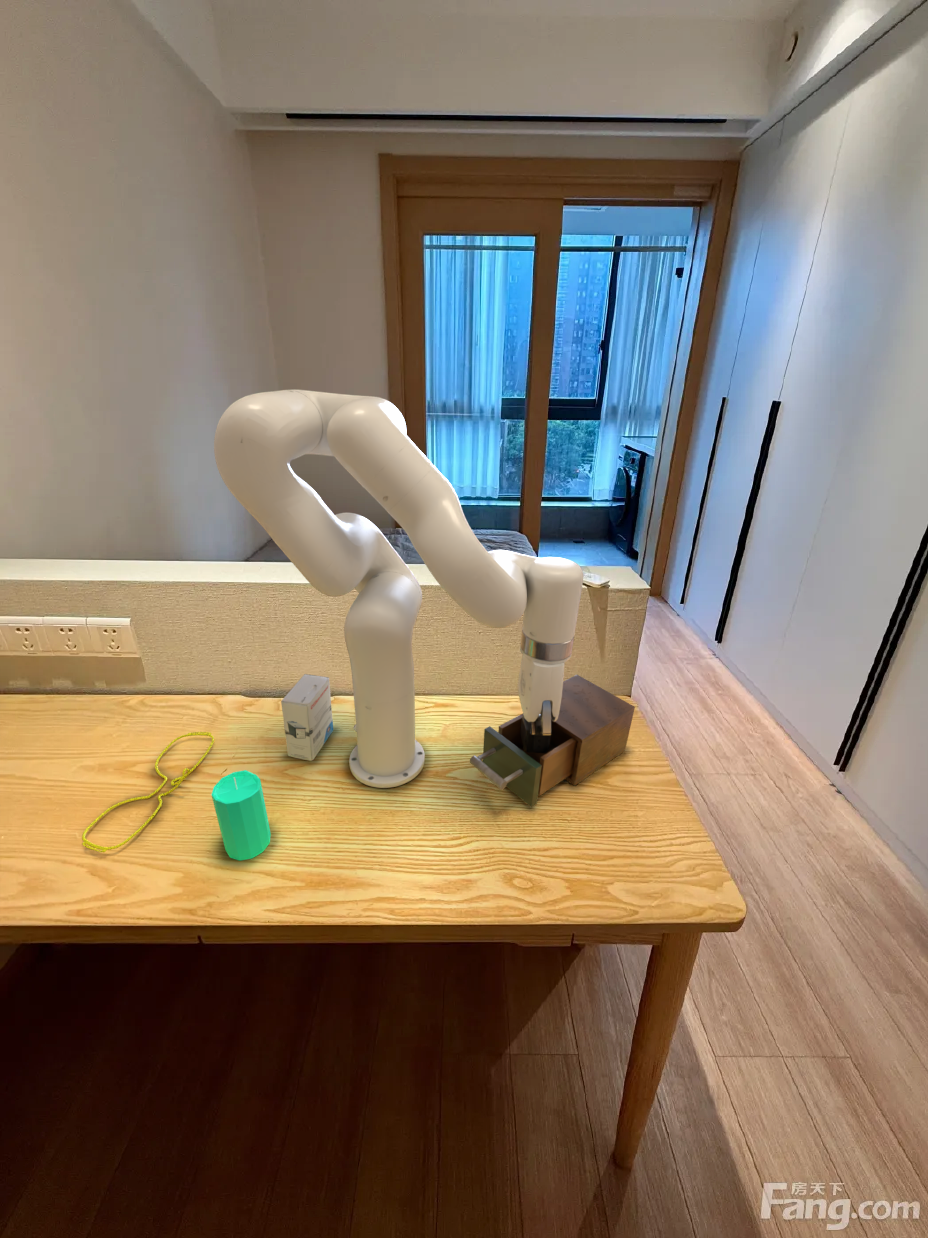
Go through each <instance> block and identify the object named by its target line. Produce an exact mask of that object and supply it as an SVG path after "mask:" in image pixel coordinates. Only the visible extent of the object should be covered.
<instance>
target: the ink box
mask: <svg viewBox="0 0 928 1238" xmlns="http://www.w3.org/2000/svg"><path fill="white" fill-rule="evenodd" d="M280 703H281V704H280V705H281V710H282V711H281V713H282V718H283V728H284V735H285V742H286V743H285V744H286V749H287V750H286V751H287V756H288V757H291V758H294V759H299V760H305V761H310V762H312V761H314V760H315V758H316V757H317V756H318V754H319V753H320V751H321V749H322V748H323V747H324V745H325V744H326V742H327V740H328V739H329V738H330V736H331V735H332V733H333V732H334V720H333V709H332V708H333V707H332V696H331V683H330V677H329V676H323V675H316V674H308V673H304V674H303V675H302V677H300V679H298V681H297V682H296V683H295V684H294V686H293V687H292V688H291V689H290V690H289V691H288V692H287V694H285V696H284V697H283V698H282V700H280Z"/></svg>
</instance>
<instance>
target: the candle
mask: <svg viewBox="0 0 928 1238" xmlns="http://www.w3.org/2000/svg"><path fill="white" fill-rule="evenodd" d="M262 785H263V784H262V781H261V778H260V777H259V776H258V775H257V774H256V773H254V772H251V771H249V770H246V769H244V770H239V771H233V772H231V773H229V774H227V775H225V776H223V777H221V778H220V779H219V781H218V782H216V784H215V785H214V786H213V788H212V792H211V799H212V802H213V806H214V810H215V811H214V812H215V815H216V818H217V823H218V827H219V830H220V835H221V838H222V843H223V846H224V850H225V852H226V853H227V855H228V857H229V858H230V859H232V860H236V861H239V862H240V861H246V860H253V859H254V858H255V857H257V856H259V855H261V854H262V853H264V852H265V850H266V849H267V848H268V846H269V845H270V844H271V837H272V832H271V828H270V822H269V817H268V812H267V806H266V801H265V797H264V791H263V786H262Z"/></svg>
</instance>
